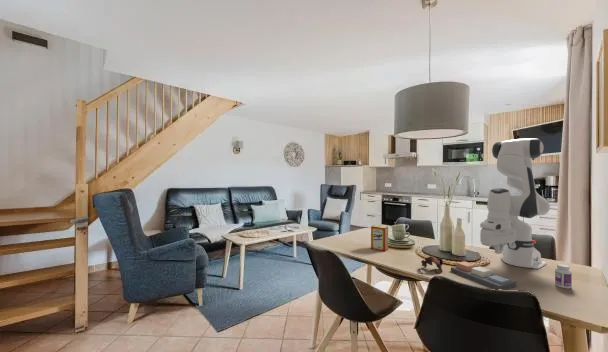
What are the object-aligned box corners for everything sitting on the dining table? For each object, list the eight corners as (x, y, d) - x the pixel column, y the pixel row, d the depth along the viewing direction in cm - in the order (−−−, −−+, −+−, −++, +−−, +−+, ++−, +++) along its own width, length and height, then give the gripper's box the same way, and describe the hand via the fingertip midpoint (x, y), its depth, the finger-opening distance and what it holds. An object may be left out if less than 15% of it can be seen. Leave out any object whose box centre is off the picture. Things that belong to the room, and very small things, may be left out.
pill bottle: (570, 286, 118) (571, 265, 118) (572, 290, 114) (572, 268, 114) (554, 282, 122) (554, 262, 122) (555, 286, 118) (555, 265, 118)
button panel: (466, 268, 140) (466, 264, 140) (516, 286, 118) (516, 281, 118) (450, 271, 136) (450, 267, 136) (499, 290, 114) (499, 286, 114)
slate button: (496, 281, 123) (496, 275, 123) (509, 286, 118) (509, 279, 118) (488, 283, 121) (488, 276, 121) (501, 288, 116) (501, 281, 116)
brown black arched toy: (436, 276, 131) (427, 260, 133) (423, 278, 139) (415, 263, 141) (451, 266, 136) (442, 251, 138) (438, 268, 144) (430, 254, 146)
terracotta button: (464, 266, 138) (464, 261, 138) (475, 270, 133) (475, 264, 133) (456, 268, 136) (456, 262, 136) (467, 272, 131) (467, 266, 131)
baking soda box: (388, 249, 175) (388, 226, 175) (384, 251, 170) (384, 227, 169) (374, 246, 181) (374, 224, 180) (371, 249, 175) (371, 225, 175)
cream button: (479, 272, 131) (479, 266, 131) (491, 276, 125) (491, 270, 125) (471, 273, 129) (471, 267, 129) (483, 278, 123) (483, 272, 123)
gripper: (505, 220, 126) (505, 248, 126) (477, 224, 119) (477, 253, 119) (520, 223, 120) (520, 252, 121) (491, 226, 113) (491, 258, 113)
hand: (498, 253), depth 120 cm, fingers closed
